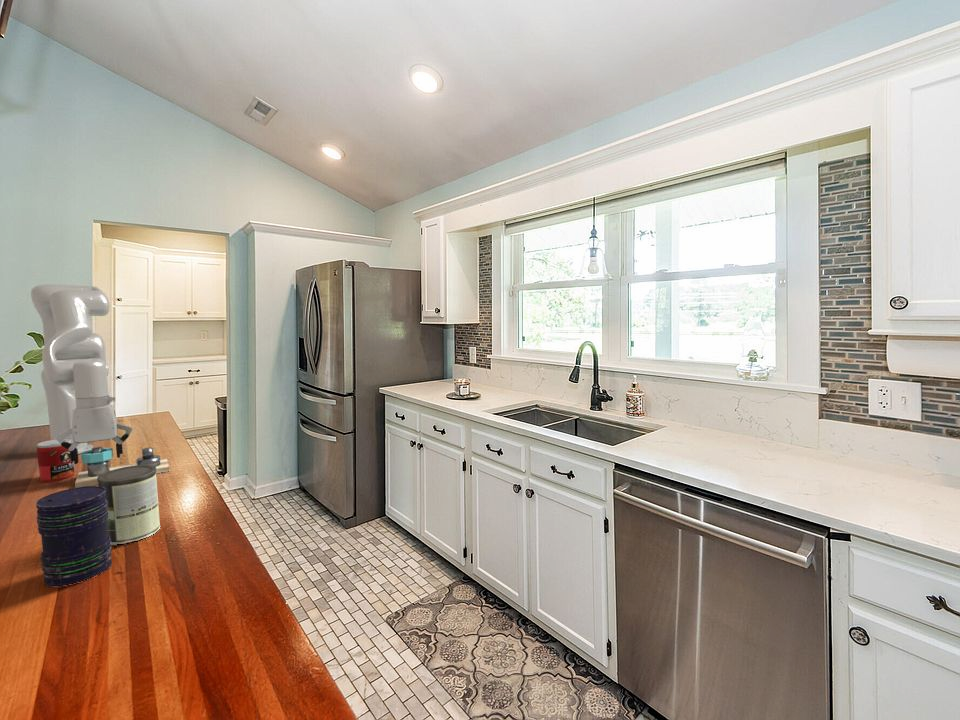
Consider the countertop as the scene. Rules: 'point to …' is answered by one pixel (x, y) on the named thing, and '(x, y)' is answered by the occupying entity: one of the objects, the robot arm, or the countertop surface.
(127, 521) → the coffee can
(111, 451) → the teal octagonal collar
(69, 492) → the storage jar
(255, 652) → the countertop surface
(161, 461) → the base board
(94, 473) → the stand
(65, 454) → the canned food
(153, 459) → the knob
